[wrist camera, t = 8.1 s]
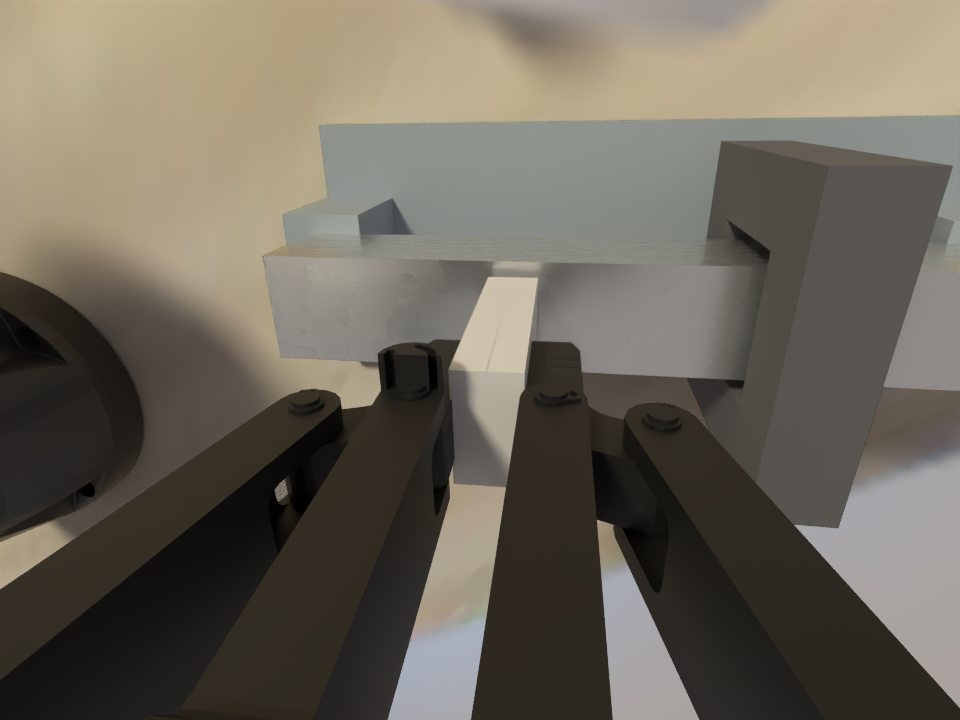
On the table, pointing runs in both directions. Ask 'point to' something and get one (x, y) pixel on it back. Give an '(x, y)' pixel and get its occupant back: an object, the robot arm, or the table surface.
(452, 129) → the stand
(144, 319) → the table surface
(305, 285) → the brushed grey beam
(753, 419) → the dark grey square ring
